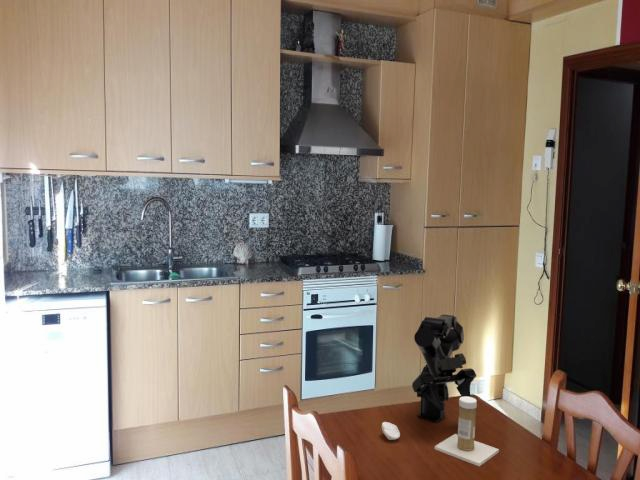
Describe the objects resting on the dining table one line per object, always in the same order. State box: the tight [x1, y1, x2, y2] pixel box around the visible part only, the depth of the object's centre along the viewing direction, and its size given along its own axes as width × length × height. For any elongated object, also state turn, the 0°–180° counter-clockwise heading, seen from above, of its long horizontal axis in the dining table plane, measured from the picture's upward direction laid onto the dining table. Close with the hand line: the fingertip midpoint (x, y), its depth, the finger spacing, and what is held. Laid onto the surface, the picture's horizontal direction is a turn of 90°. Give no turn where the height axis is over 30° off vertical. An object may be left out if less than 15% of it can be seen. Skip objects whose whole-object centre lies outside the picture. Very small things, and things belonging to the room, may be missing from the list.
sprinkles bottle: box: [457, 396, 478, 451], centre depth 147 cm, size 5×5×14 cm
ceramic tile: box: [434, 433, 500, 468], centre depth 148 cm, size 13×11×1 cm
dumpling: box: [381, 421, 401, 441], centre depth 154 cm, size 7×5×4 cm
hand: (456, 408), depth 152 cm, fingers open, 9 cm apart
